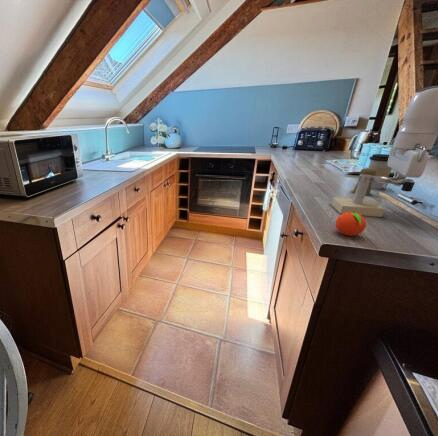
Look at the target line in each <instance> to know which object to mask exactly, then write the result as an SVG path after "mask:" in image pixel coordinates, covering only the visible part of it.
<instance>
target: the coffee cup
mask: <svg viewBox="0 0 438 436" xmlns="http://www.w3.org/2000/svg"><path fill="white" fill-rule="evenodd" d="M388 158H389V154H385V153H374V154H372V155H371V156H370V157H369V160H370V161H369V164H368V168H371V169H375V170H376V175H375V176H379V177H390V174H391V172H392V170H393V169H392V168H390V167H389V166H388V165H387V163H388ZM384 185H385V183H379V182H372V185H371V190H381V189H383V187H384Z"/></svg>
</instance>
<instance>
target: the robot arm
mask: <svg viewBox="0 0 438 436" xmlns="http://www.w3.org/2000/svg"><path fill="white" fill-rule="evenodd" d="M437 137H438V85H432V86H427V87H423V88H420V89H419V90H417V91H416V92H415V93H414V94H413V95H412V97H411V99H410V101H409V103H408V105H407V106H406V110H405V112H404V114H403V117H402V125H401V127H400V128H399V130H398V131H397V133H396V135H395V137H394V138H393V139H392V140H391V143H390V146H392V147H391V148H390V151H389V154H388V155H389V158H388V163H387V165H388V166H389V167H390V168H392V170H394V173H393V178H402V179H407V178H413V179H415V178H421V177H422V176H423V174H424V172H425V169H426V166H427V164H428V161H429V157H430V153H429V152H428V151H429V150H432V149H433V147H434V145H435V142H436V140H437ZM393 185H394V186H395V187H396V186H397V187H400V186H401V187H402V185H399V184H393Z"/></svg>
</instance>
